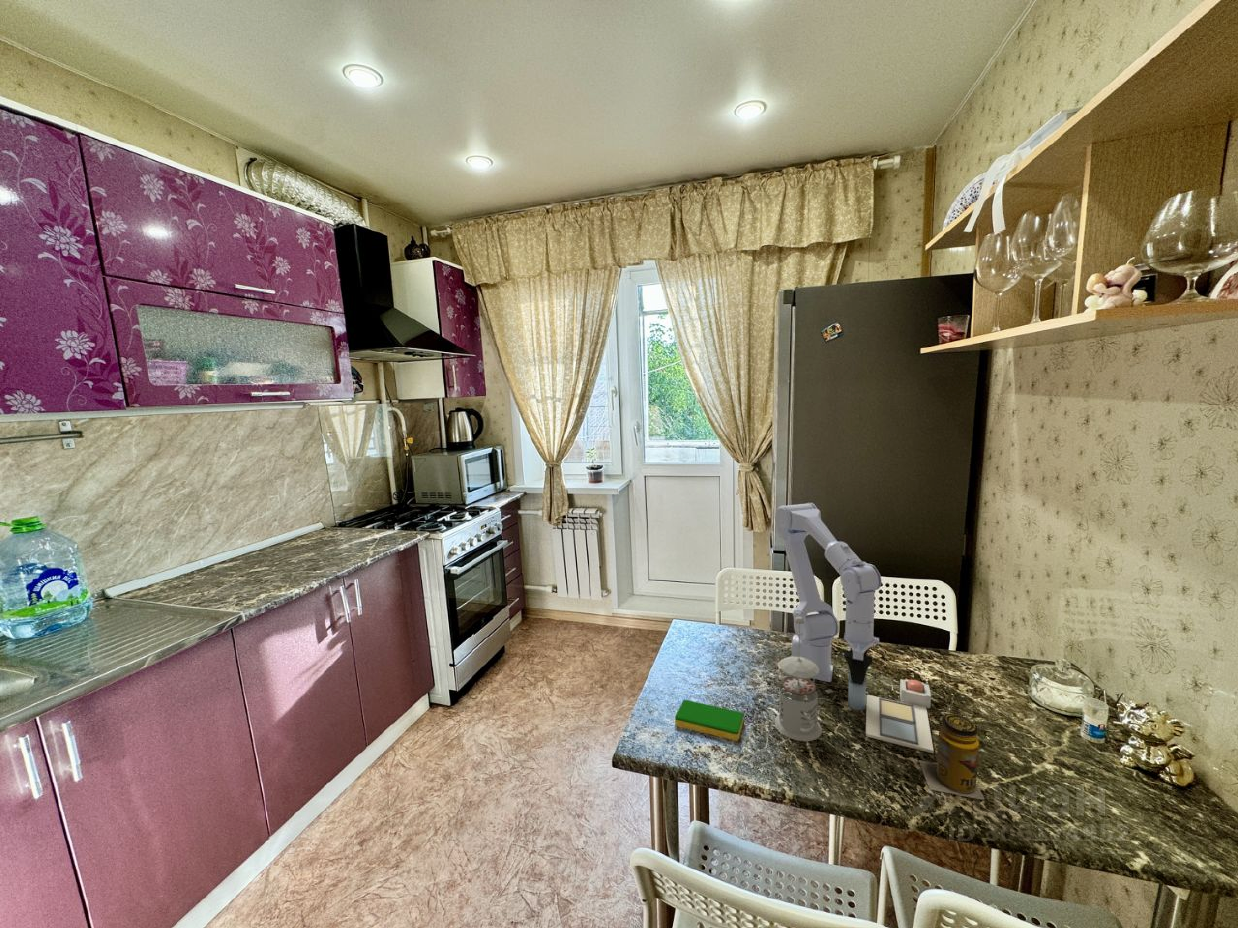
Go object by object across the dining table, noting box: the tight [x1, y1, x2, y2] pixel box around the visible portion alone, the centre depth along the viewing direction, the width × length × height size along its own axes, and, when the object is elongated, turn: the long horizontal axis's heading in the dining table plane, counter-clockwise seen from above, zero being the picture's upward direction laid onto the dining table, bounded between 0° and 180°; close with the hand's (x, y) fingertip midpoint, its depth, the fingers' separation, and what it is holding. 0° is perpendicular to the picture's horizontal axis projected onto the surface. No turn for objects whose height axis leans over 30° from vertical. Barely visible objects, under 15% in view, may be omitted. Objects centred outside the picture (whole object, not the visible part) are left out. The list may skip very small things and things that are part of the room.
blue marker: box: [847, 673, 867, 711], centre depth 112 cm, size 4×4×7 cm
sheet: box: [865, 694, 935, 754], centre depth 106 cm, size 12×15×1 cm
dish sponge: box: [674, 699, 744, 741], centre depth 108 cm, size 7×14×2 cm, turn 66°
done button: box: [908, 679, 923, 693], centre depth 114 cm, size 3×3×3 cm
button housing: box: [899, 678, 932, 709], centre depth 114 cm, size 6×6×3 cm
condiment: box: [918, 713, 985, 800], centre depth 89 cm, size 7×8×12 cm
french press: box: [774, 617, 823, 742], centre depth 105 cm, size 10×12×25 cm
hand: (857, 674), depth 111 cm, fingers open, 7 cm apart
